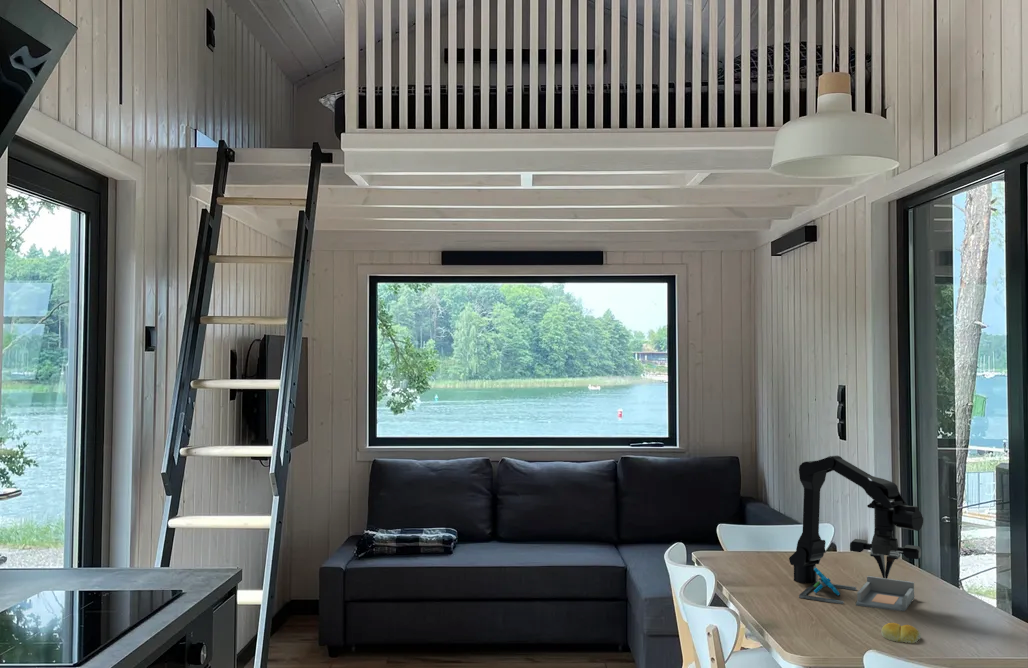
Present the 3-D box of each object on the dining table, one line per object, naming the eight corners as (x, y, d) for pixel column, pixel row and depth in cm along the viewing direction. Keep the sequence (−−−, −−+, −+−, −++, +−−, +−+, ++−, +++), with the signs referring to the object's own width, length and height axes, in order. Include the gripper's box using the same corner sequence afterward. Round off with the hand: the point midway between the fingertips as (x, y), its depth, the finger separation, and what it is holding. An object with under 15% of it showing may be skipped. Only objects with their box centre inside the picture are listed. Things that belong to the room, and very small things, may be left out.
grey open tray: (855, 606, 243) (855, 588, 243) (868, 591, 258) (868, 575, 258) (904, 613, 235) (904, 595, 236) (914, 598, 250) (914, 581, 251)
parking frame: (799, 597, 251) (799, 595, 251) (814, 583, 267) (814, 581, 267) (842, 604, 244) (842, 601, 244) (856, 589, 260) (856, 587, 260)
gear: (844, 596, 249) (820, 570, 251) (829, 609, 250) (805, 583, 251) (838, 586, 260) (814, 561, 261) (823, 599, 261) (800, 574, 262)
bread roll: (884, 632, 218) (884, 616, 218) (922, 640, 213) (922, 624, 213) (877, 640, 211) (878, 624, 211) (916, 648, 206) (917, 632, 206)
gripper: (845, 525, 246) (846, 579, 245) (915, 533, 235) (916, 589, 235) (853, 519, 255) (854, 571, 254) (921, 526, 245) (921, 580, 244)
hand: (885, 578), depth 247 cm, fingers closed
